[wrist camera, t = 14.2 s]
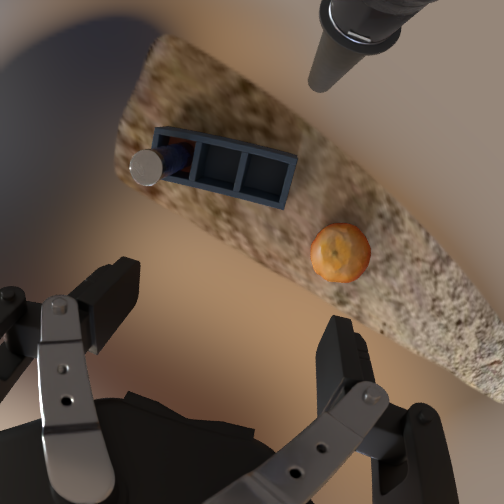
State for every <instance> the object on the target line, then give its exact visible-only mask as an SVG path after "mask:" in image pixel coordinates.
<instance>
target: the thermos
mask: <svg viewBox="0 0 504 504" xmlns="http://www.w3.org/2000/svg"><path fill="white" fill-rule="evenodd" d="M194 151H195V149H194V147H193V146H192V145H191V144H189V143H187V142H179V143H174V144H170V145H166V146H161V147H157V148H153V149H145V150H141V151H139V152H137V153H136V154H135V155H134V156H133V158H132V160H131V162H130V172H131V175H132V177H133V179H134V180H135V181H136V182H137V183H139V184H141V185H144V186H150V185H153V184H155V183H157V182H159V181H160V180H161V179H163V178H165V177H167V176H169V175H171V174H173V173H176V172H178V171H180V170H182V169H184V168H186V167H188V166H190V165H191V164H192V161H193V156H194Z"/></svg>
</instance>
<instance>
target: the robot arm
mask: <svg viewBox="0 0 504 504" xmlns="http://www.w3.org/2000/svg"><path fill="white" fill-rule="evenodd" d="M435 1H437V0H331V3H330V6H329V18H330V21H331V23H332V25H333V27H334V28H335V30H336V31H337V32H338V33H339V34H340V35H341V36H343V37H344V38H345V39H347V40H349V41H351V42H353V43H356V44H359V45H366V46H370V45H377V44H380V43H382V42H384V41H385V40H386V39H388V38H389V37H390V36H391V34H392V33H394V32H395V31H396V30H397V29H398V28H400V27H401V26H402V25H403V24H404V23H406V22H407V21H408V20H409V19H410V18H411V17H413V16H414V15H415V14H416V13H418V12H419V11H420V10H421V9H423V8H424V7H425V6H426V5H427V4H429V3H432V2H435ZM139 281H140V262H139V261H137V260H134V259H130V258H127V257H124V256H123V257H121V258H120V259H119V260H117V261H116V262H115V263H114V264H113V265H111V264H108V265H105V266H102V267H100V268H98V269H97V270H96V271H95V272H93V273H92V274H91V275H90V276H89V277H88V278H86V280H84V281H83V282H82V283H81V284H80V285H79V286H77V287H76V288H75V289H74V290H73V291H72V292H71V293H70V294H68V295H55V296H51V297H49V298H47V299H46V300H45V301H44V302H43V304H41V303H36V302H30V301H26V297H25V293H24V291H23V290H22V289H21V288H19V287H14V286H8V287H4V288H1V289H0V339H1V337H4V342H3V343H2V344H1V345H0V403H1V401H3V399H4V398H5V396H6V395H7V394H8V392H9V391H10V389H11V388H12V387H13V385H14V384H15V383H16V381H17V380H18V379H19V377H20V376H21V375H22V373H23V372H24V371H25V369H26V368H27V367H28V366H29V364H30V363H31V362H32V360H33V359H34V358H37V359H38V381H39V396H40V407H41V417H42V418H40V419H37V420H34V421H31V422H28V423H25V424H22V425H19V426H15V427H12V428H9V429H6V430H2V431H0V504H314V503H313V501H311V498H312V497H313V496H314V495H315V494H316V493H317V492H318V491H319V490H320V489H321V488H322V487H323V486H324V485H325V484H326V483H327V482H328V480H329V479H330V478H331V477H332V476H333V475H334V474H335V473H336V472H337V470H338V469H339V468H340V467H341V466H342V465H343V464H344V463H345V461H346V460H347V459H348V458H349V457H350V456H351V454H352V453H353V452H354V451H356V452H359V453H361V454H364V455H366V456H369V457H371V469H372V501H373V504H459V500H458V494H457V488H456V484H455V478H454V474H453V468H452V464H451V460H450V455H449V451H448V447H447V442H446V439H445V435H444V431H443V427H442V423H441V420H440V417H439V415H438V413H437V412H436V410H435V409H433V408H432V407H431V406H429V405H427V404H425V403H415V404H413V405H412V406H411V407H410V408H409V409H408V410H406V409H404V408H401V407H398V406H396V405H394V404H392V403H390V402H389V396H388V394H387V393H386V391H385V390H384V389H383V388H382V387H381V386H379V385H378V384H376V383H375V378H374V374H373V370H372V365H371V361H370V357H369V353H368V349H367V345H366V342H365V340H364V339H363V338H362V336H361V335H360V334H359V333H355V332H354V330H353V326H352V321H351V319H348V318H344V317H340V316H335V315H333V316H332V317H331V318H330V321H329V323H328V325H327V327H326V329H325V332H324V334H323V336H322V338H321V340H320V342H319V345H318V348H317V351H316V379H317V418H316V419H315V420H314V421H313V422H312V423H311V424H310V425H309V426H307V427H306V428H305V429H304V430H303V431H302V432H301V433H299V434H298V435H297V436H296V437H295V438H294V439H292V441H290V442H289V443H288V444H287V445H285V446H284V447H283V448H282V449H280V450H279V451H278V452H277V453H275V452H274V451H273V450H272V449H271V448H269V447H268V446H267V445H265V444H264V443H262V442H260V441H258V440H256V439H254V438H253V437H254V431H255V429H252V428H247V427H243V426H239V425H235V424H230V423H226V422H221V421H207V420H193V419H188V418H185V417H183V416H181V415H180V414H178V413H176V412H174V411H173V410H171V409H169V408H167V407H166V406H164V405H162V404H161V403H159V402H157V401H154V400H151V399H149V398H146V397H143V396H141V395H138V394H135V393H133V392H130V391H128V392H127V394H126V396H125V397H124V399H120V398H101V399H96V400H94V399H93V395H92V390H91V385H90V381H89V375H88V370H87V365H86V359H85V354H86V352H87V351H89V352H92V353H94V354H96V355H98V354H99V352H100V351H101V350H102V348H103V347H104V346H105V344H106V343H107V342H108V340H109V339H110V338H111V336H112V335H113V334H114V332H115V331H116V330H117V328H118V327H119V326H120V324H121V323H122V322H123V321H124V319H125V318H126V317H127V315H128V314H129V313H130V312H131V310H132V309H133V308H134V306H135V304H136V302H137V299H138V294H139Z"/></svg>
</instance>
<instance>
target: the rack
mask: <svg viewBox="0 0 504 504" xmlns="http://www.w3.org/2000/svg"><path fill="white" fill-rule="evenodd" d="M179 142H187V143H189V144H191V145H192V146H193V147H194V149H195V151H194V156H193V161H192V164H191V165H190V166H188V167H186V168H184V169H182V170H180V171H178V172H176V173H173V174H171V175H169V176H167V177H165V178H163V179H161V180H165V181H169V182H174V183H178V184H182V185H186V186H191V187H195V188H199V189H203V190H207V191H211V192H215V193H219V194H223V195H227V196H231V197H235V198H239V199H243V200H247V201H251V202H255V203H259V204H262V205H266V206H270V207H274V208H277V209H281V210H284V207H285V204H286V200H287V196H288V193H289V189H290V186H291V182H292V178H293V175H294V171H295V167H296V164H297V160H298V158H297V155H295V154H291V153H287V152H284V151H280V150H276V149H272V148H268V147H264V146H260V145H256V144H252V143H248V142H243V141H239V140H235V139H230V138H226V137H221V136H216V135H212V134H207V133H202V132H197V131H191V130H186V129H181V128H175V127H169V126H166V127H155V131H154V136H153V142H152V148H151V149H153V148H157V147H161V146H166V145H170V144H174V143H179Z"/></svg>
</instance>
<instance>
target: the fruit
mask: <svg viewBox="0 0 504 504" xmlns="http://www.w3.org/2000/svg"><path fill="white" fill-rule="evenodd" d="M370 257H371V248H370V245H369V243H368V241H367V239H366V237H365V236H364V234H363V233H362V232H361V231H360V229H359V228H357V227H356V226H354V225H352V224H348V223H333V224H330V225H328V226H327V227H325V228H324V229H323V230H321V231H320V232H319V233H318V234H317V236H316V238H315V240H314V241H313V242H312V244H311V261H312V264H313V268H314V271H315V272H316V273H317V274H319V275H320V276H322V277H323V278H324V279H325V280H327V281H330V282H341V283H349V282H352V281H354V280H356V279H358V278H359V277H360V276H361V275H362V273H363V272H364V271H365V270H366V268H367V267H368V264H369V261H370Z"/></svg>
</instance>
